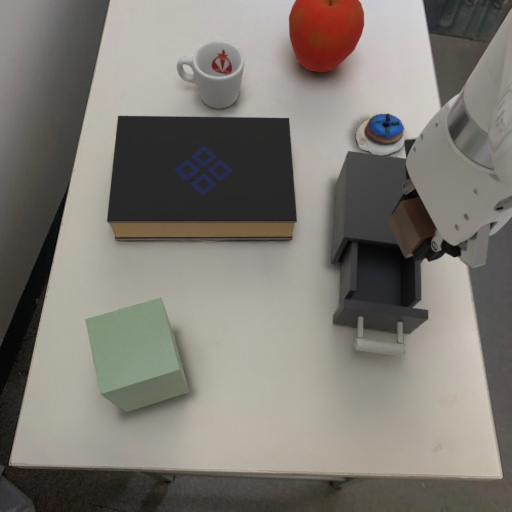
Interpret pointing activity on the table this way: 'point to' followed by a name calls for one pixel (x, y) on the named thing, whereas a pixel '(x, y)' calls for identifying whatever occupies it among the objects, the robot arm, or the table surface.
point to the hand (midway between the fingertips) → (415, 233)
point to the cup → (215, 72)
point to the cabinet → (366, 200)
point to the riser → (136, 356)
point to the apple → (325, 31)
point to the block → (411, 225)
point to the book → (202, 179)
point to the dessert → (381, 134)
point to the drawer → (379, 294)
